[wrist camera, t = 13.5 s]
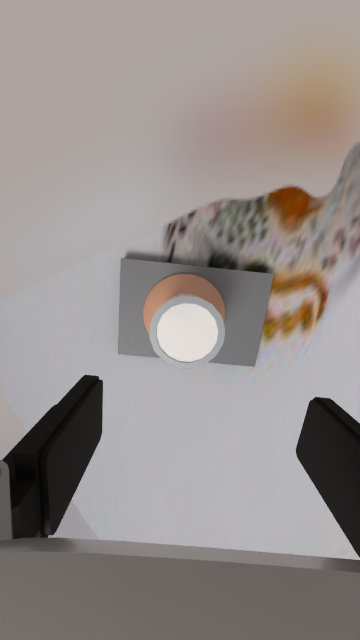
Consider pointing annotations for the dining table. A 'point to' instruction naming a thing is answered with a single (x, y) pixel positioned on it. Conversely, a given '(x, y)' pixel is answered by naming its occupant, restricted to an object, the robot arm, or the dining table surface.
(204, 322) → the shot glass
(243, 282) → the board
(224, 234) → the dining table surface
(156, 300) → the coaster
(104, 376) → the dining table surface
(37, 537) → the robot arm
